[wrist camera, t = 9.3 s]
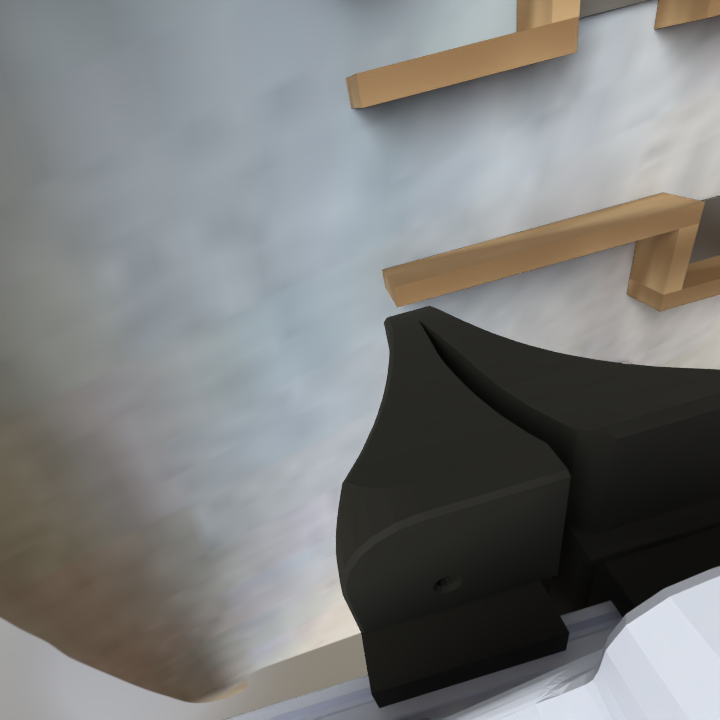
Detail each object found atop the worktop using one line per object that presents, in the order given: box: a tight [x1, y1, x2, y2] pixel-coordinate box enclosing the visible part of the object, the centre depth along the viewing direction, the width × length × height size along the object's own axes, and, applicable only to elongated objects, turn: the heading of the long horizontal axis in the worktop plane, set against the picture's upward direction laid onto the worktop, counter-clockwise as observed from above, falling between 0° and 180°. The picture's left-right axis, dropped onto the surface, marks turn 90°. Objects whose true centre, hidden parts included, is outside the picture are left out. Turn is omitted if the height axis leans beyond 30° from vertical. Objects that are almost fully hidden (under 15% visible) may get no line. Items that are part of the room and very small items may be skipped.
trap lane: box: [346, 0, 720, 311], centre depth 17 cm, size 18×27×2 cm
